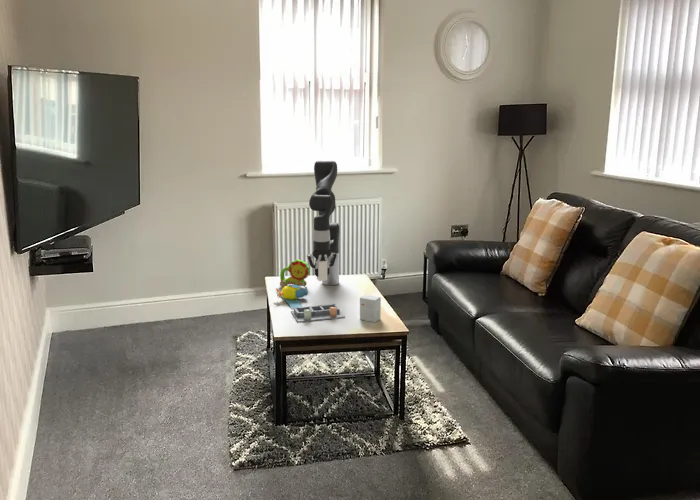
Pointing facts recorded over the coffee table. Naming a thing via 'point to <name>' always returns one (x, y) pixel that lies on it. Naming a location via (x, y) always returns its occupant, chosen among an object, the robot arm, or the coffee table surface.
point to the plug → (322, 271)
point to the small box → (370, 308)
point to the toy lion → (295, 273)
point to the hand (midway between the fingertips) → (321, 275)
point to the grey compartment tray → (317, 313)
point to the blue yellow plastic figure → (293, 294)
